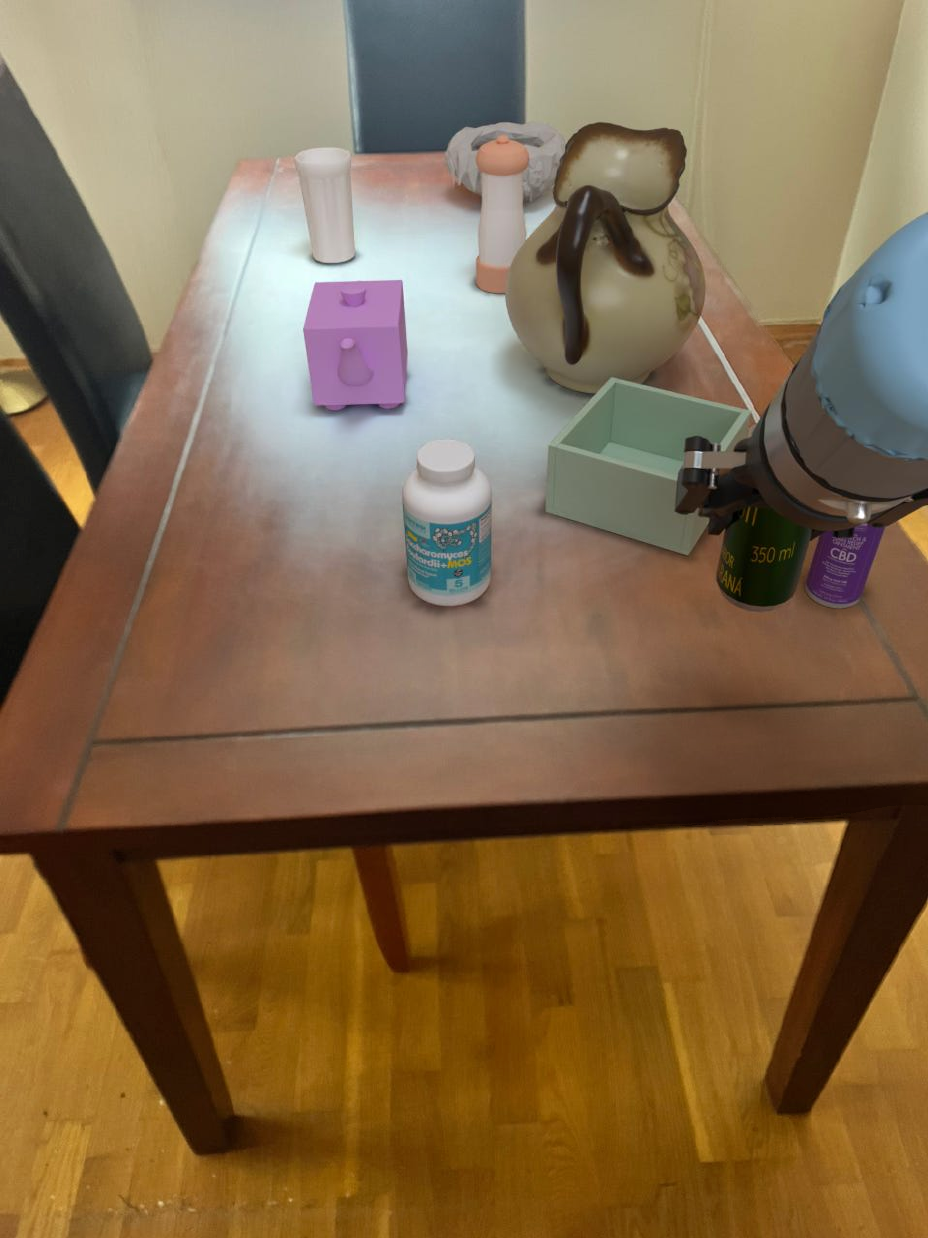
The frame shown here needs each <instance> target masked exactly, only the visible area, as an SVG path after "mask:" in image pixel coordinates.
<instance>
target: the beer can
mask: <svg viewBox="0 0 928 1238" xmlns="http://www.w3.org/2000/svg"><path fill="white" fill-rule="evenodd" d="M757 423H758V422H756V423H755V424H752V426H751V427H750V428H749V429H748V431H747V436H746V438H749V437H751V436H752V434H753V431H754V429H755V427H756V425H757ZM812 531H813V529H809V528H805V527H802V526H799V525H797V524H795V523H792V522H790V521H789V520H787V519H785V518H784V517H782V516H781V515H779V514H778V513H777V512H776V511H774V510H773V509H772V508H771V509H765V508H757V507H748V508H745V509H742V510H739V511H736V512H733V516H732V522H731V523H730V524H729V525H728V526H727V527H726V528H725V529H724V531H723V538H722V543H721V549H720V553H719V559H718V563H717V569H716V576H715V577H716V579H715V581H716V583H717V586H718V590H719V591H720V594H721V596H723V598H724V599H725V600H726V601H727V602H728V603H730V604H731V605H733V606H735V607H737V608H739V609H742V610H745V611H748V612H757V613H765V612H772V611H775V610H778V609H780V608H782V607H783V606H785V605H786V604H787V603H788V602H789V601H790V600H791V599H792V598H793V597H794V595H795V593H796V592H797V589H798V585H799V581H800V578H801V574H802V570H803V567H804V564H805V560H806V555H807V552H808V549H809V546H810V542H811V541H810V538H811V535H812Z"/></svg>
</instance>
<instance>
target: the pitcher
mask: <svg viewBox="0 0 928 1238" xmlns="http://www.w3.org/2000/svg"><path fill="white" fill-rule="evenodd" d="M565 143H566V146H565V153H564V154H563V156H562V157H561V158H560V160H559V162H560V164H559V168H558V169H557V172H556V178H555V184H554V185H553V189H552V198H553V202H554V205H555V206H554V208H553V209H552V211H551V212H550V213H549V214H548V215H547V217H546V218H545V219H544V220H543V221H542V222H541V223H540V224H539V225H538V226H537V227H536V228H535V229H534V230H533V232H531V233H530V234H529V236H528V237H526V241H525V242H524V243H523V245H522V246H521V247H520V249H519V250H518V252H517V254H516V255H515V257H514V259H513V261H512V263H511V265H510V268H509V270H508V273H507V277H506V283H505V293H504V298H505V299H504V300H505V306H506V307H505V308H506V310H507V311H506V312H507V316H508V319H509V322H510V323H511V327H512V328H513V331H514V332H515V334H516V336H517V338H518V339H519V341H520V342H521V344H522V345H523V346H524V348H525V349H526V350H527V351H528V352H529V353H530V355H532V357H533V358H535V360H537V361H538V362H539V363H540V364H541V365H543V366H544V367H545V371H546V373H547V375H548V376H549V378H550V379H551V380H552V381H553V382H555V383H556V384H558V385H560V386H562V387H564V388H566V389H569V390H571V391H576V392H579V393H585V394H593V395H595V394H596V393H597V392H598V391H599V390H600V389H601V388H602V387H603V386H604V385H605V383H606V382H607V381H608V380H609V379H610V378H611V377H613V378H617V379H621V380H625V381H629V382H633V383H637V384H642V385H643V383H644V382H646V380H648V378H649V376H650V374H651V372H653V371H655V370H656V369H658V368H659V367H661V366H662V365H664V364H665V363H666V362H667V361H669V360H670V359H671V358H672V357H673V356H674V355H675V354H677V353H678V351H680V349H682V347H683V346H684V344H686V342H687V341H688V340H689V339H690V337H691V335H692V334H693V333H694V331H695V329H696V328H697V325H698V323H699V321H700V319H701V316H702V315H703V314H702V313H703V310H704V305H705V301H706V288H707V287H706V277H705V271H704V267H703V264H702V261H701V259H700V257H699V255H698V253H697V250H696V249H695V247H694V245H693V244H692V242H691V241H690V239H689V238H688V236H687V235H686V234H685V232H683V230H682V229H681V227H680V226H679V225H678V224H677V222H676V221H675V220H674V218H673V217H672V215H671V213H670V210H669V205H670V204H671V202H672V201H673V199H674V198H675V196H676V195H677V193H678V191H679V188H680V187H681V186H680V180H681V177H682V176H683V174H684V173H685V169H686V158H687V155H688V149H687V146H686V144H685V137H684V136H683V134H682V132H681V131H680V130H679V129H675V128H668V127H659V128H653V129H634V128H630V127H626V126H623V125H619V124H616V123H612V122H603V121H597V122H594V123H589V124H586V125H584V126H582V127H580V128H579V129H578V130H577V131H576V132H574V133H573V134H572V135H571V137H570V138H569V139H568V140H567V142H565Z"/></svg>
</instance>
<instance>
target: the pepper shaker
mask: <svg viewBox="0 0 928 1238" xmlns="http://www.w3.org/2000/svg"><path fill="white" fill-rule="evenodd" d="M529 161H530V158H529V153H528V151H527V149H526V147H525V146H524V145H523V144H521V143H519V142H516V141H514V140H509V138H508V136H506V135H500V136H498V137H497V139H496V140H493V141H490V142H488V143H486V144H484V145H482V146H481V147H480V148H479V150H478V152H477V155H476V164H477V167H478V169H479V170H480V171H481V172H482V197H481V209H480V214H479V215H480V216H479V224H478V230H477V243H478V244H477V245H478V255H477V257H476V258H475V274H476V275H475V276H476V278H475V279H476V280H475V281H476V282H475V283H476V287H478V289H480V290H482V291H484V292H488V293H492V294H505V283H506V277H507V273H508V270H509V268H510V265H511V263H512V261H513V259H514V257H515V255H516V254H517V252H518V250H519V249H520V247H521V246H522V245H523V243H524V242H525V241H526V240H527V227H526V220H525V218H526V217H525V211H524V202H523V171H524V170H525V169H526V168H527V166H528V164H529Z"/></svg>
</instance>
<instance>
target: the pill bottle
mask: <svg viewBox="0 0 928 1238" xmlns="http://www.w3.org/2000/svg"><path fill="white" fill-rule="evenodd" d="M401 490H402V491H401V499H402V501H401V502H402V513H403V514H402V515H403V527H404V541H405V542H404V543H405V554H406V556H405V557H406V571H407V572H406V573H407V581H408V585H409V587H410V589H411V591H412V592H413V593H414V595H416V596H417V597H418V598H419V599H421V600H423V601H424V602H427V603H429V604H431V605H436V606H443V607H456V606H462V605H465V604H468V603H471V602H473V601H475V600H477V599H479V597H481V596H482V595H483V594H484V593H485V592H486V591H487V589H488V588H489V585H490V583H491V578H492V511H493V509H492V508H493V506H492V505H493V501H492V500H493V499H492V496H493V493H492V492H493V491H492V484H491V482H490V480H489V477H488V476H487V475H486V474H485V472H484V471H483V470H482V469H480V468H479V467H478V466H477V465H476V454H475V451H474V449H473V448H472V447H471V445H469V444H468V443H467V442H464V441H461V440H458V439H452V438H441V439H435V440H431V441H429V442H427V443H425V444H423V445H422V446H420V448H419V449H418V450H417V453H416V467H415V468H414V469H413V470H412V471H411V472H410V473H408V476H407V477H406V478H405V480H404V482H403V485H402V489H401Z"/></svg>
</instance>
